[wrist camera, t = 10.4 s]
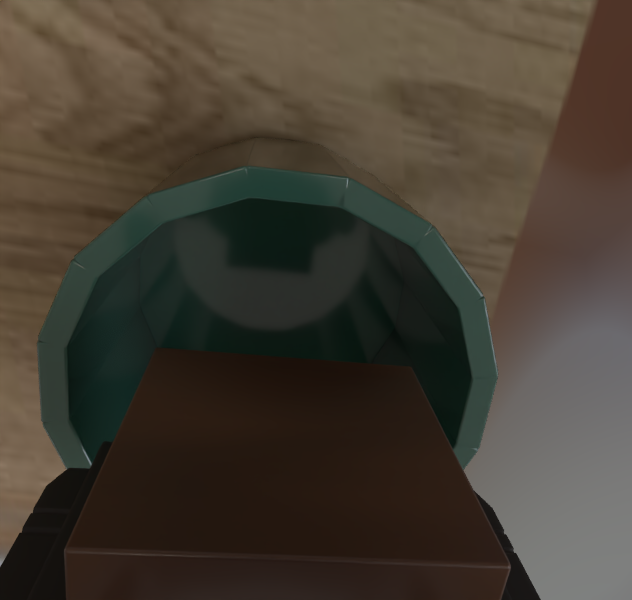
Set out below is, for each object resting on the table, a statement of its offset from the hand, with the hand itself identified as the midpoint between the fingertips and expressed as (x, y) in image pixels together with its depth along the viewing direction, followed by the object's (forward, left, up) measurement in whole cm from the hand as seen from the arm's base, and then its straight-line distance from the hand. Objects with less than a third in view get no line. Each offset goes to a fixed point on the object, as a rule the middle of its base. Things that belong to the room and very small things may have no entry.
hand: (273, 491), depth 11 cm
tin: (0, 0, -12) cm, 12 cm away
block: (0, 0, -1) cm, 1 cm away
